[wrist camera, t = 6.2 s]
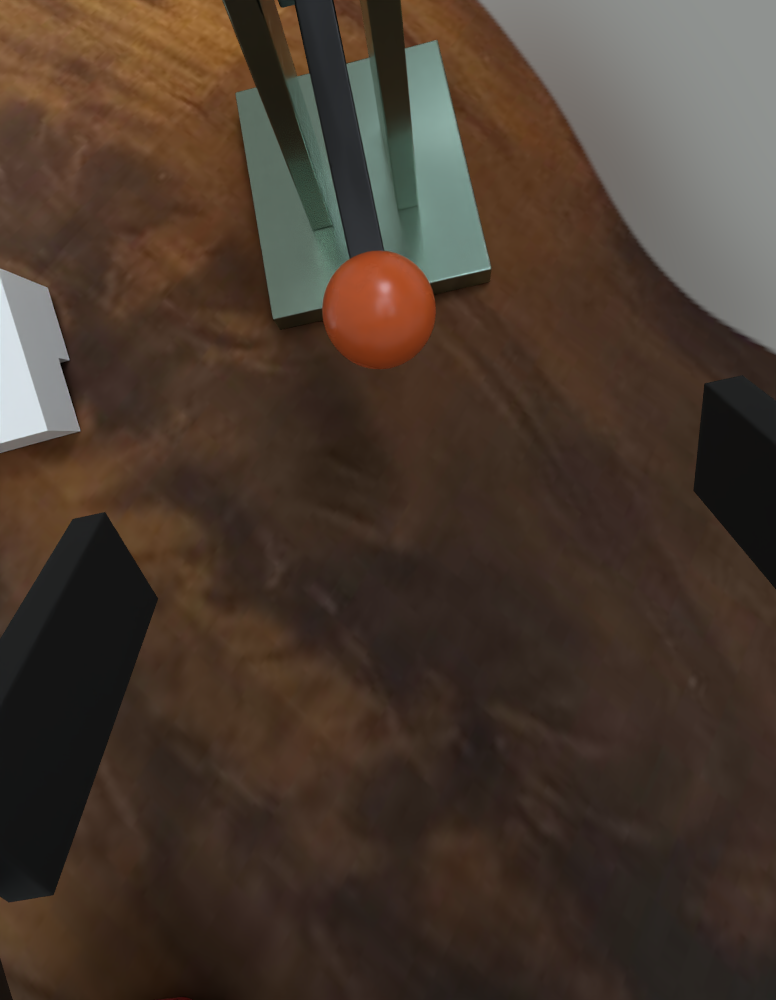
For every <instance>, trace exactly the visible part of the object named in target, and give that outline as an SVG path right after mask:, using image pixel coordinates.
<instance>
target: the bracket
mask: <svg viewBox="0 0 776 1000" xmlns="http://www.w3.org/2000/svg"><path fill="white" fill-rule="evenodd" d="M65 361H69V356H68V353H67V350H66V346H65V343H64V340H63V337H62V333H61V330H60V327H59V323H58V320H57V317H56V313H55V310H54V307H53V304H52V300H51V297H50V294H49V290H48V288H47V287H45V286H42V285H40V284H37V283H35V282H32V281H30V280H28V279H25V278H23V277H20V276H18V275H15V274H13V273H10V272H8V271H5V270H3V269H1V268H0V453H2V452H6V451H9V450H13V449H17V448H20V447H24V446H28V445H31V444H35V443H39V442H43V441H46V440H50V439H54V438H57V437H61V436H65V435H68V434H72V433H76V432H79V431H80V427H79V424H78V421H77V418H76V414H75V411H74V408H73V404H72V401H71V398H70V395H69V391H68V388H67V385H66V381H65V378H64V375H63V372H62V368H61V365H60V363H62V362H65Z"/></svg>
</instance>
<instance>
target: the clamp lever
mask: <svg viewBox="0 0 776 1000" xmlns="http://www.w3.org/2000/svg"><path fill="white" fill-rule="evenodd" d="M278 2H279V5H280V6H281V7H283V8H284V7H287V6H291V5H295V8H296V12H297V17H298V22H299V26H300V31H301V36H302V40H303V45H304V50H305V54H306V59H307V64H308V68H309V73H310V78H311V82H312V87H313V92H314V96H315V101H316V106H317V110H318V115H319V119H320V124H321V129H322V133H323V138H324V143H325V147H326V152H327V157H328V161H329V166H330V171H331V175H332V180H333V185H334V189H335V194H336V199H337V203H338V208H339V213H340V217H341V222H342V227H343V231H344V236H345V241H346V245H347V250H348V255H349V260H347V261H346V262H345V263H343V264H342V265H341V266H340V267H339V268H338V269H337V270H336V272H335V273H334V274H333V276H332V277H331V279H330V281H329V283H328V285H327V287H326V290H325V293H324V298H323V305H322V314H323V322H324V326H325V329H326V332H327V334H328V336H329V338H330V340H331V342H332V343H333V345H334V346H335V347H336V349H337V350H338V351H339V352H340V353H341V354H342V355H343V356H344V357H345V358H347V359H348V360H350V361H351V362H353V363H355V364H357V365H360V366H362V367H366V368H370V369H388V368H393V367H396V366H399V365H401V364H404V363H406V362H407V361H409V360H410V359H412V358H413V357H414V356H416V355H417V354H418V353H419V352H420V351H421V350H422V348H423V347H424V346H425V344H426V343H427V341H428V339H429V337H430V335H431V333H432V330H433V327H434V323H435V316H436V305H435V298H434V294H433V290H432V288H431V285H430V283H429V281H428V279H427V277H426V276H425V274H424V273H423V272H422V270H421V269H420V268H419V267H418V266H417V265H416V264H414V263H413V262H412V261H411V260H409V259H407V258H406V257H404V256H402V255H399V254H397V253H393V252H390V251H384V246H383V241H382V236H381V231H380V227H379V222H378V217H377V212H376V207H375V202H374V197H373V192H372V187H371V183H370V178H369V173H368V168H367V163H366V158H365V153H364V148H363V143H362V138H361V134H360V129H359V124H358V119H357V114H356V109H355V104H354V99H353V94H352V89H351V85H350V80H349V75H348V70H347V65H346V60H345V55H344V50H343V45H342V40H341V36H340V31H339V26H338V21H337V16H336V11H335V6H334V1H333V0H278Z"/></svg>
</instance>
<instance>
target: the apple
mask: <svg viewBox="0 0 776 1000" xmlns="http://www.w3.org/2000/svg"><path fill="white" fill-rule="evenodd" d="M157 1000H192V999H189V998H186V997H179V998H168V999H157Z"/></svg>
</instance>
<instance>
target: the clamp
mask: <svg viewBox="0 0 776 1000" xmlns="http://www.w3.org/2000/svg"><path fill="white" fill-rule="evenodd" d="M222 1H223V3H224V6H225V8H226V11H227V14H228V16H229V19H230V21H231V24H232V26H233V29H234V31H235V34H236V37H237V39H238V42H239V44H240V47H241V49H242V52H243V54H244V57H245V60H246V62H247V65H248V67H249V70H250V72H251V75H252V77H253V80H254V83H255V85H256V87H255V88H251V89H248V90H244V91H240V92H236V94H235V95H236V101H237V107H238V113H239V119H240V125H241V131H242V137H243V143H244V149H245V155H246V161H247V167H248V173H249V179H250V185H251V191H252V197H253V203H254V209H255V215H256V221H257V227H258V233H259V239H260V245H261V251H262V257H263V263H264V269H265V275H266V281H267V288H268V294H269V300H270V306H271V312H272V318H273V320H274V321H275V323H276V324H277V326H278V327H279V329H280V330H282V329H287V328H291V327H296V326H300V325H304V324H309V323H313V322H317V321H322V320H323V314H322V305H323V298H324V293H325V290H326V287H327V285H328V283H329V281H330V279H331V277H332V276H333V274H334V273H335V272H336V270H337V269H338V268H339V267H340V266H341V265H342V264H343V263H345V262H346V261H347V260H349V255H348V250H347V245H346V241H345V236H344V231H343V227H342V222H341V217H340V213H339V208H338V203H337V199H336V194H335V189H334V185H333V180H332V175H331V171H330V166H329V161H328V157H327V152H326V147H325V143H324V138H323V133H322V129H321V124H320V119H319V115H318V110H317V106H316V101H315V96H314V92H313V87H312V82H311V78H310V73H309V74H305V75H301V76H297V74H296V71H295V67H294V64H293V61H292V57H291V54H290V51H289V47H288V44H287V41H286V38H285V34H284V31H283V28H282V24H281V21H280V18H279V15H278V11H277V8H276V5H275V1H274V0H222ZM360 4H361V10H362V17H363V23H364V29H365V35H366V42H367V48H368V54H369V58H366V59H362V60H358V61H354V62H351V63H347V64H346V65H347V70H348V75H349V80H350V85H351V89H352V94H353V99H354V104H355V109H356V114H357V119H358V124H359V129H360V134H361V138H362V143H363V148H364V153H365V158H366V163H367V168H368V173H369V178H370V183H371V187H372V192H373V197H374V202H375V207H376V212H377V217H378V222H379V227H380V231H381V236H382V241H383V246H384V251H390V252H393V253H397V254H399V255H402V256H404V257H406V258H407V259H409V260H411V261H412V262H413V263H414V264H416V265H417V266H418V267H419V268H420V269H421V270H422V272H423V273H424V274H425V276H426V277H427V279H428V281H429V283H430V285H431V288H432V290H433V294H434V295H435V294H439V293H444V292H448V291H453V290H457V289H461V288H466V287H470V286H474V285H479V284H483V283H487V282H490V277H491V264H490V260H489V255H488V251H487V247H486V243H485V238H484V234H483V230H482V226H481V222H480V217H479V213H478V209H477V205H476V200H475V196H474V192H473V188H472V183H471V179H470V175H469V171H468V166H467V162H466V158H465V154H464V150H463V145H462V141H461V137H460V133H459V128H458V124H457V120H456V116H455V111H454V107H453V103H452V99H451V95H450V90H449V86H448V82H447V78H446V73H445V69H444V65H443V61H442V56H441V52H440V48H439V44H438V41H437V40H435V41H431V42H427V43H423V44H419V45H416V46H412V47H408V48H405V44H404V33H403V22H402V11H401V0H360Z"/></svg>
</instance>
